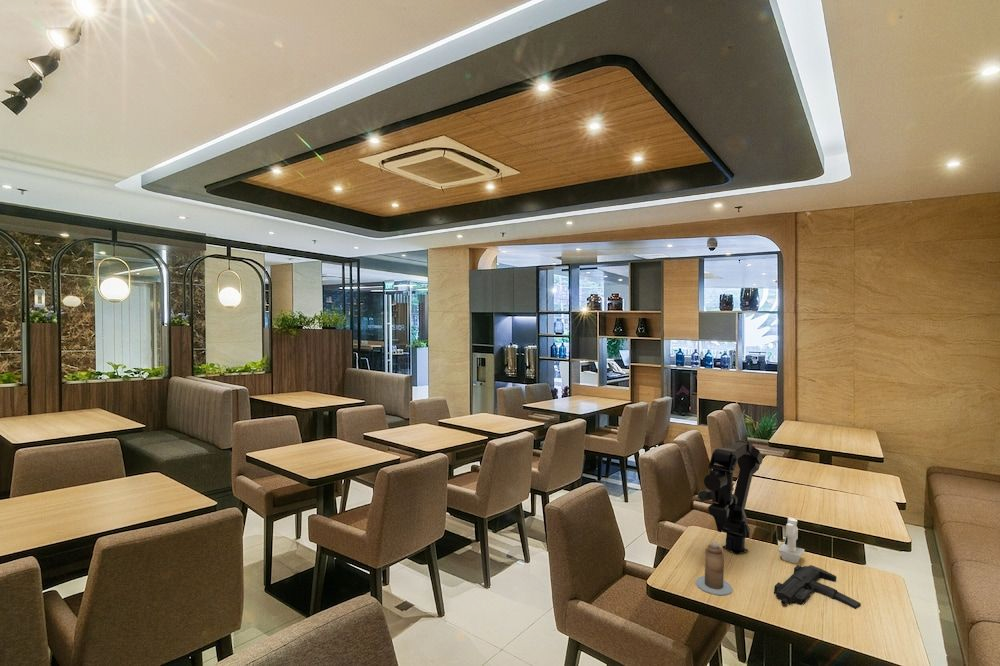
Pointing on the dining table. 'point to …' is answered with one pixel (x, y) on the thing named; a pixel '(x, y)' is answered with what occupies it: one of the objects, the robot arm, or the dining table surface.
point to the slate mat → (724, 591)
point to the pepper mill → (714, 566)
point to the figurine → (791, 543)
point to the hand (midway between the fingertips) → (722, 527)
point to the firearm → (809, 587)
